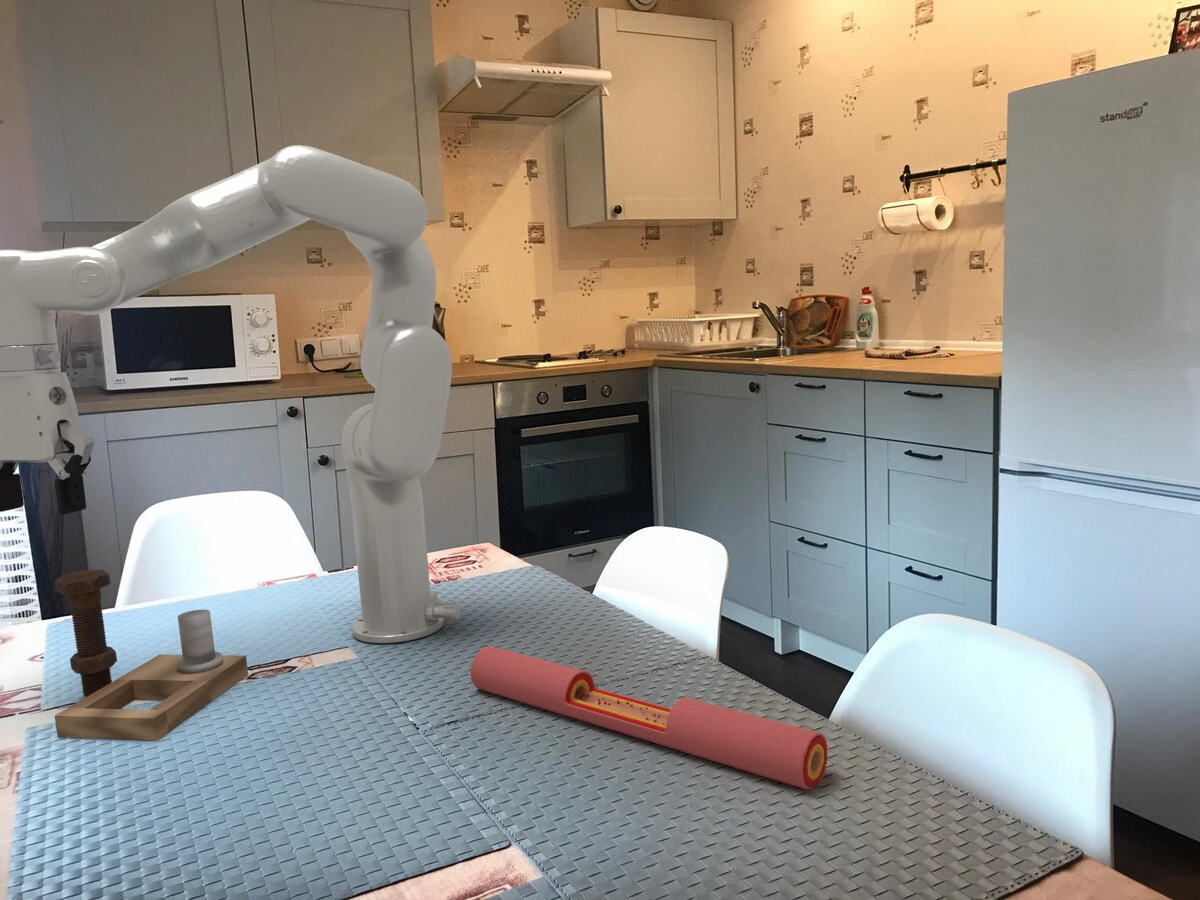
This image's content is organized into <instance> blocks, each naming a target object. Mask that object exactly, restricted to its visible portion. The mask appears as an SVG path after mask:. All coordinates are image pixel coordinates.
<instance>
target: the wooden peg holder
mask: <svg viewBox="0 0 1200 900" xmlns="http://www.w3.org/2000/svg"><path fill="white" fill-rule="evenodd" d="M211 618H212V617H211V611H210V610H209V609H193V610H190V611H185V612H183V613H181V614H179V615H177V623H178V632H179V637H180V640H179V641H180V646H181V647H180V648H181V653H182V654H160V653H159V654H158V655H156V656H153V658H151V659H149V660H148V661H145V662H144V663H142V664H141V665H139V666H136V667H135V668H134V669H132V670H131V671H130V670H129V672H127V673H125V674H123V675H122V676H121V677H118V678H116V679H114V680H112V682H111V683H110V684H108V685H106V686H105V687H103V688H101V689H99V690H98V691H96V692H94V693H93V694H91V695H89V696H87V697H84V698H82V699H81V700H79V701H77V702H75V703H74V704H73V705H71V706H68V707H67V708H65V709H64V710H62V711H60V712H58V713H56V714H55V715H54V721H55V729H56V734H57V738H58V737H70V738H69V739H87V740H88V739H89V740H91V739H92V740H122V741H123V740H124V741H127V740H128V741H152V742H154V741H155V742H157V741H158V740H160V739H161V738H163V737H164V736H165V735H167V734H168V733H169V732H171V731H172V730H174V729H175V728H177V727H178V726H180V725H181V724H182V723H184V722H185V721H186V720H188V719H189V718H190V717H192V716H193V715H194V714H196V713H197V712H199V711H200V710H201V709H203V708H204V707H206V706H207V705H209V704H210V703H211V702H213V701H214V700H216V698H218V697H220V696H221V695H222V694H223V693H225V692H227V691H228V690H229V689H231V688H232V687H234V686H235V685H236V684H238V683H239V682H241V680H244V678H245V677H247V676H249V669H248V662H247V661H248V660H247V656H246V655H232V654H229V655H227V654H226V655H225V654H224V655H223V653H221V652H219V651H216V650H215V643H214V633H213V627H212V619H211ZM136 700H138V701H141V700H142V701H143V700H144V701H160V702H159V703H158V704H156V705H154V706H153V707H152V708H150V709H130V708H129V709H125V708H124V707H126V706H127V705H128V704H131V702H133V701H136ZM122 708H124V709H122ZM73 737H75V738H73Z"/></svg>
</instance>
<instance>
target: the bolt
mask: <svg viewBox="0 0 1200 900" xmlns="http://www.w3.org/2000/svg"><path fill="white" fill-rule="evenodd" d="M109 585H111V578H110V574H109V573H108V572H107V571H106V570H105V569H84V570H78V571H74V572H70V573H65V574H62V575H61V576H60V577H58V578H57V579H55V581H54V589H55V591H56V592H57V593H59V594H62V595H65V596H67V599H68V600H67V601H68V604H69V605H70V611H71V619H72V626H73V633H74V638H75V639H74V640H75V647H76V652H75V653H74V654H73V655H72V656H71V657H70V658H69V662H70V669H72V672H74V673H76V674H77V675H80V679H81V680H80V681H81V687H82V688H81V689H82V694H83V697H84V698H86V697H87V696H89V695H91V694H93V693H94V692H96V691H98V690H99V689H101V688H103V687H105V686H106V685H108V684H110V683H111V682H113V680H112V673H111V669H110V668H112V667H113V666H114V665H115V664H116V663H117V662H118V658H117V652H116V650H115V649H114V648H113V647H112V646H107V640H106V639H107V637H106V629H105V622H104V616H103V609H102V608H103V607H102V602H101V599H102V594H101V589H102V588H104V587H105V588H106V587H107V586H109Z"/></svg>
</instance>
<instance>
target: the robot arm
mask: <svg viewBox="0 0 1200 900" xmlns="http://www.w3.org/2000/svg"><path fill="white" fill-rule="evenodd" d="M428 217H429V215H428V207H427V204H426V201H425V198H424V197H423V196H422V194H421V193H420V191H419V190H418V189H417V188H416V187H415V186H414V185H413V184H411V182H408V181H407V180H405V179H403V178H401V177H399V176H396V175H393V174H391V173H387V172H385V171H382V170H380V169H377V168H374V167H370V166H368V165H364V164H361V163H360V162H357V161H355V160H354V161H353V160H351V159H348V158H345V157H342V156H340V155H337V154H334V153H332V152H329V151H326V150H323V149H319V148H317V147H313V146H309V145H301V144H297V145H294V144H293V145H289V146H287V147H283V148H282V149H281V150H278V151H277V152H276V153H275V154H274V155H273V156H272V157H270V158H268V159H266V160H264V161H262V162H259V163H258V164H255V165H253V166H251V167H248V168H246V169H244V170H241V171H240V172H238V173H235V174H233V175H231V176H229V177H228V176H227V177H225V178H223V179H221V180H219V181H217V182H214V183H212V184H210V185H207V186H204V187H202V188H200V189H197V190H195V191H193V192H191V193H187V194H186V195H184V196H182V197H180V198H178V199H176V200H175V201H172V202H171V203H170V204H168V205H166V206H165V207H164V208H163V209H162V210H160V211H159V212H158V213H157V214H155V215H153V216H152V217H150V218H149V219H147V220H145V221H144V222H142V223H139V224H138V225H136V226H134V227H132V228H130V229H128V230H126V231H124V232H122V233H119V234H117V235H115V236H113V237H111V238H108V239H106V240H104V241H102V242H99V243H97V244H95V245H92V246H76V247H67V248H61V249H52V250H41V251H33V250H26V249H0V513H1V512H2V513H3V512H7V511H11V510H15V509H21V508H23V507H24V505H25V502H24V501H25V500H24V495H23V486H22V479H21V474H20V473H16V470H17V469H18V466H19V464H21V463H48V464H49V466H50V467H51V468H52V470H53V472H55V474H56V475H57V476H58V478H57V479H54V485H55V487H54V488H55V493H56V501H57V502H56V503H57V509H58V513H59V514H60V515H68V514H73V513H76V512H81V511H84V510H86V508H87V501H86V492H85V491H86V490H85V486H84V485H85V484H84V477H83V476H85V475H86V474H87V471H88V470H87V467H88V466H89V464H90V463H91V461H92V457H91V456H92V452H93V448H94V446H95V440H94V438H93V437H92V436H91V435H89V434H87V433H85V432H83V431H82V427H81V423H80V417H79V413H78V412H79V411H78V408H77V403H76V399H75V396H74V393H73V389H72V386H71V383H70V380H69V378H68V375H67V373H66V372H65V371H63V372H62V369H61V353H60V351H59V344H58V336H57V329H56V322H55V312H68V313H69V312H70V313H77V314H80V315H84V316H85V315H86V316H87V315H88V316H95V315H100V314H103V313H106V312H108V311H111V310H112V309H114V308H116V307H118V306H120V305H123V304H124V303H127V302H128V301H131V300H133V299H135V298H137V297H139V296H141V295H144V294H145V293H147V292H150V291H152V290H154V289H157V288H158V287H159V288H160V286H162V285H165V284H167V283H169V282H172V281H174V280H176V279H178V278H181V277H183V276H186V275H189V274H192V273H196V272H199V271H202V270H206V269H209V268H210V267H213V266H215V265H217V264H219V263H221V262H223V261H226V260H228V259H230V258H232V257H234V256H236V255H239V254H240V253H243V252H244V251H246V250H249V249H251V248H254V247H255V246H257V245H259V244H261V243H263V242H266V241H268V240H270V239H273V238H274V237H276V236H278V235H281V234H283V233H285V232H287V231H289V230H292V229H294V228H296V227H298V226H300V225H303V224H304V223H306V222H309V221H310V220H313V221H315V222H318V223H321V224H323V225H326V226H328V227H332V228H334V229H337V230H341V231H344V235H345V236H346V238H347V239H348V240H349V242H351V244H352V245H353V246H354V247H355V248H356V249H358V250H359V251H360V253H361V254H362V255H363V257H364V259H365V261H366V262H367V264H368V266H369V270H370V273H371V292H370V293H371V294H370V305H369V309H368V315H367V316H368V317H367V322H366V327H365V333H364V338H363V345H362V348H361V354H360V369H361V372H362V373H361V374H362V375H363V377H364V379H365V380H366V381H367V383H368V384H369V385H371V387H373V388H374V389H375V390H374V395H373V402H372V403H368V404H366V405H363V406H361V407H359V408H358V409H356V410H355V411H354V412H353V413H352V414H351V415H349V417H348V419H347V420H346V421H345V424H344V427H343V430H342V433H341V434H342V435H341V450H342V459H343V464H344V467H345V472H346V476H347V481H348V488H349V495H350V503H351V510H352V520H353V535H354V543H355V545H354V546H355V556H356V564H357V565H356V566H357V574H358V577H357V578H358V587H359V595H360V596H359V597H360V605H361V617H359V618H358V619H357V620H356V621H353V623H352V625H351V632H352V636H353V637H354V638H355V639H356V640H358V641H360V642H366V643H370V644H371V643H372V644H394V643H396V644H397V643H403V642H409V641H413V640H418V639H421V638H424V637H427V636H429V635H432V634H433V633H436V632H437V631H439V630H440V629H441V628H442V627H443V626H444V625H445V620H458V619H459V618H460V614H461V612H460V606H459V604H457V602H456V600H454V601H453V600H451V601H450V600H448V601H441V599H438V596H439V595H438V591H437V590H431V585H430V572H429V561H428V551H427V549H428V548H427V537H426V527H425V526H426V525H425V524H426V523H425V510H424V508H425V507H424V500H423V493H422V487H421V481H420V477H422V476H423V475H424V474H426V473H427V471H429V470H430V468H431V467H432V466H433V464H434V462H435V460H436V458H437V455H438V454H439V450H440V447H441V442H442V438H443V432H444V426H445V421H446V413H447V407H448V403H449V397H450V396H449V395H450V392H451V391H450V389H451V382H452V377H453V376H452V375H453V365H452V364H453V363H452V361H453V360H452V355H451V352H450V349H449V347H448V346H449V345H448V344H447V342H446V340H445V339H444V338H443V337H442V335H441V333H439V332H437V330H435V329H434V328H433V324H434V321H433V320H434V316H435V315H434V314H435V303H436V297H437V296H436V295H437V275H436V269H435V268H436V267H435V264H434V262H433V258H432V256H431V254H430V251H429V249H428V247H427V245H426V244H425V242H424V240H423V239H422V234H424V231H425V230H426V226H427V225H428V219H429V218H428ZM64 461H65V462H66V464H65V463H64Z"/></svg>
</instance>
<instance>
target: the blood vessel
mask: <svg viewBox="0 0 1200 900" xmlns="http://www.w3.org/2000/svg"><path fill="white" fill-rule="evenodd" d="M470 679H471V682H472V684H473V685H474V687H475V688H477V689H479V690H481V691H484V692H487V693H491V694H494V695H498V696H501V697H503V698H506V699H507V698H508V699H511V700H514V701H516V702H520V703H523V704H526V705H530V706H533V707H536V708H539V709H543V710H546V711H548V712H549V711H550V712H552V713H556V714H559V715H562V716H565V717H570V718H572V719H575V720H579V721H582V722H585V723H589V724H591V725H595V726H597V727H602V728H604V729H607V730H611V731H613V732H617V733H621V734H624V735H626V736H627V735H628V736H630V737H634V738H638V739H641V740H644V741H647V742H651V743H654V744H657V745H660V746H663V747H667V748H670V749H673V750H676V751H680V752H682V753H686V754H689V755H691V756H695V757H699V758H703V759H705V760H708V761H711V762H715V763H718V764H722V765H725V766H729V767H731V768H735V769H738V770H742V771H744V772H747V773H751V774H755V775H757V776H761V777H764V778H767V779H770V780H773V781H777V782H780V783H784V784H786V785H790V786H793V787H797V788H799V789H803V790H807V791H811V790H812V789H813V787H816V785H818V784H819V783H820V782H822V780H823V777H824V775H825V772H826V769H827V765H828V758H829V757H828V741H827V739H826V737H825V735H824V734H823V733H821V732H818V731H815V730H811V729H806V728H803V727H801V726H800V727H799V726H795V725H792V724H788V723H784V722H781V721H778V720H773V719H769V718H766V717H763V716H758V715H754V714H749V713H746V712H743V711H739V710H736V709H731V708H727V707H723V706H720V705H715V704H712V703H708V702H705V701H701V700H697V699H693V698H689V697H681V698H679V699H678V700H676V702H675V703H674V704H673V706H672V707H671V708H669V707H666V706H663V705H658V704H655V703H652V702H648V701H644V700H640V699H637V698H634V697H630V696H625V695H623V694H619V693H617V692H612V691H608V690H604V689H601V688H599V687H598V688H597V687H596V686H595V681H594V677H593V676H592V675H591V674H590V672H588V671H586V670H582V669H580V668H575V667H571V666H567V665H564V664H561V663H556V662H553V661H549V660H545V659H541V658H537V657H533V656H529V655H526V654H522V653H519V652H514V651H510V650H507V649H503V648H499V647H495V646H492V645H491V646H490V645H489V646H486V647H483V648H482V649H480V650H479V651H478V652H477V653H476V655H475V656H474V658H473V660H472V662H471V666H470Z"/></svg>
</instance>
